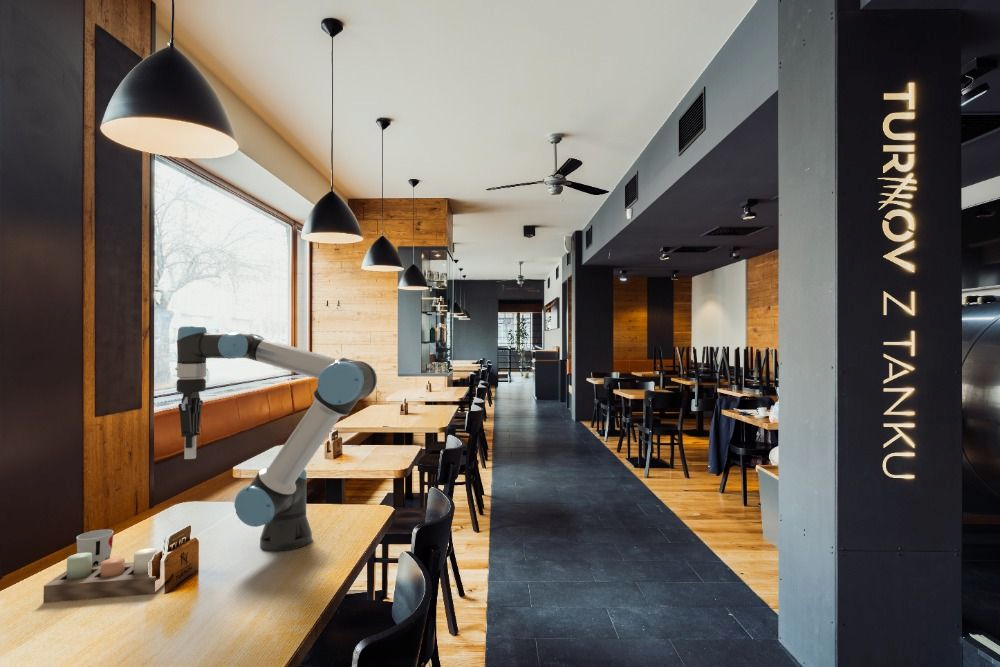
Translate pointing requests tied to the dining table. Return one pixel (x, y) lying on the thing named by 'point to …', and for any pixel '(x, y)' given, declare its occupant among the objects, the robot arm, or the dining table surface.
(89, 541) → the cup
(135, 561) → the button cream
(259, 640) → the dining table surface
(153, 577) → the wooden slotted tray
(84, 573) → the pale green rounded cube
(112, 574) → the pink rounded cube
